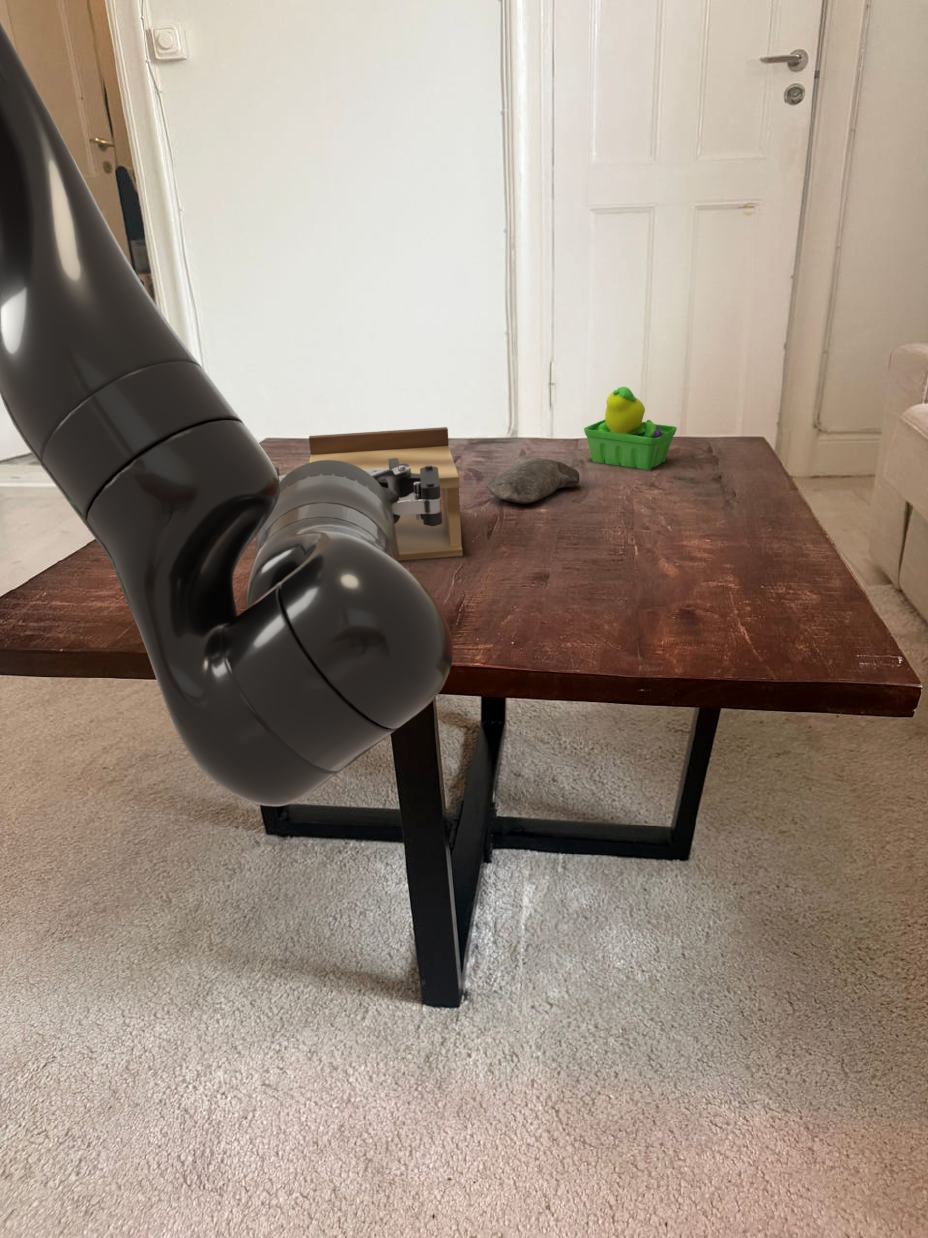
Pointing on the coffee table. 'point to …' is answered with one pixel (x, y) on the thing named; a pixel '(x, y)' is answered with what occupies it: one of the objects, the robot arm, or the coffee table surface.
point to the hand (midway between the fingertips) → (334, 476)
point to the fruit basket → (628, 434)
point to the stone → (532, 480)
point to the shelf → (417, 453)
